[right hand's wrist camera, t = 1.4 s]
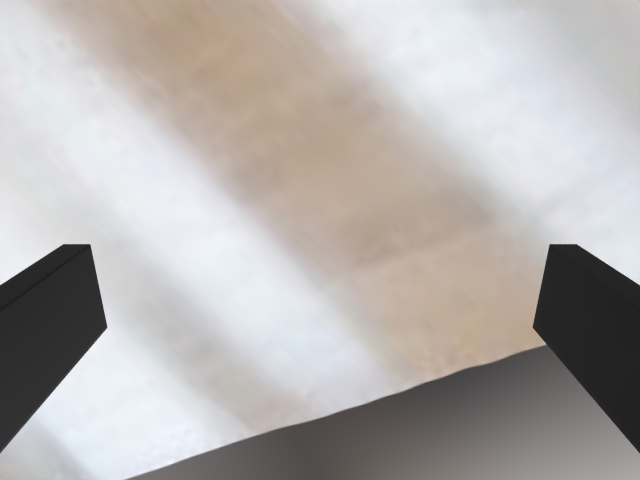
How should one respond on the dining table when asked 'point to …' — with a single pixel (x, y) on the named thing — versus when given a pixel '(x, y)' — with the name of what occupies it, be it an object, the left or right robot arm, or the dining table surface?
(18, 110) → the dining table surface
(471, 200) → the dining table surface
